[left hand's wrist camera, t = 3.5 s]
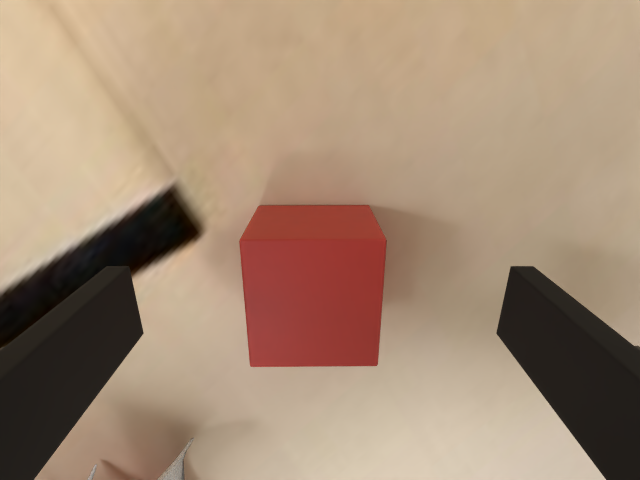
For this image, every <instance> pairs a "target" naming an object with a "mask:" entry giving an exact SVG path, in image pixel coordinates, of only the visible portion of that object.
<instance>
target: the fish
mask: <svg viewBox="0 0 640 480" xmlns="http://www.w3.org/2000/svg"><path fill="white" fill-rule="evenodd" d="M193 440H194V438H192V439H190V441H189V442H188V444H187V445H186V447H185V448H184V449H183V451H182V452H181V453H180V454H179V456H178V457H177V458H176V459H175V460H174V462H173V463H172V464H171V465H170V466H169V467H168V468H167V469H166V471H165V472H164V473H163V474H162V475H161V476H160V477H159V478H158V479H157V480H184V465H183V459H184V456H185V453H186V451H187V449H188V447H189V446H190V444H191V443H192V441H193ZM96 466H97V465H96V464H95V466H94V468H93V470H92V472H91V474H90V476H89V478H88V480H92V479H93V476H94V473H95V470H96Z"/></svg>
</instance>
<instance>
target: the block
mask: <svg viewBox="0 0 640 480" xmlns="http://www.w3.org/2000/svg"><path fill="white" fill-rule="evenodd" d="M239 242H240V254H241V266H242V277H243V289H244V301H245V312H246V324H247V335H248V347H249V359H250V366H251V367H300V366H377V365H378V355H379V341H380V327H381V313H382V298H383V284H384V270H385V256H386V242H387V241H386V238H385V236H384V234H383V232H382V230H381V228H380V226H379V224H378V222H377V220H376V218H375V217H374V215H373V213H372V211H371V209H370V207H369V206H368V205H300V206H258V208H257V210H256V212H255V213H254V215H253V217H252V219H251V221H250V222H249V224H248V226H247V228H246V230H245V231H244V233H243V235H242V237H241V239H240V241H239Z"/></svg>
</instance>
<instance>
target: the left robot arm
mask: <svg viewBox="0 0 640 480" xmlns="http://www.w3.org/2000/svg"><path fill="white" fill-rule="evenodd" d="M142 335H143V329H142V324H141V319H140V315H139V310H138V305H137V301H136V296H135V291H134V287H133V282H132V277H131V273H130V268H129V266H107V267H105V268H104V269H103V270H102V271H100V272H99V273H98V274H97V275H95V276H94V277H93V278H91V279H90V280H89V281H88V282H86V283H85V284H84V285H83V286H81V287H80V288H79V289H78V290H76V291H75V292H74V293H72V294H71V295H70V296H69V297H67V298H66V299H65V300H64V301H62V302H61V303H60V304H59V305H57V306H56V307H55V308H53V309H52V310H51V311H50V312H48V313H47V314H46V315H45V316H43V317H42V318H41V319H40V320H38V321H37V322H36V323H34V324H33V325H32V326H31V327H29V328H28V329H27V330H26V331H24V332H23V333H22V334H20V335H19V336H18V337H17V338H15V339H14V340H13V341H12V342H10V343H9V344H8V345H7V346H5V347H2V348H0V480H34V479H35V477H36V476H37V475H38V473H39V472H40V471H41V469H42V468H43V467H44V465H45V464H46V463H47V461H48V460H49V459H50V457H51V456H52V455H53V453H54V452H55V451H56V449H57V448H58V447H59V445H60V444H61V443H62V441H63V440H64V439H65V437H66V436H67V435H68V433H69V432H70V431H71V429H72V428H73V427H74V425H75V424H76V423H77V421H78V420H79V419H80V417H81V416H82V415H83V413H84V412H85V411H86V409H87V408H88V407H89V405H90V404H91V403H92V401H93V400H94V399H95V397H96V396H97V395H98V393H99V392H100V391H101V389H102V388H103V387H104V385H105V384H106V383H107V381H108V380H109V379H110V377H111V376H112V375H113V373H114V372H115V371H116V369H117V368H118V367H119V365H120V364H121V363H122V361H123V360H124V359H125V357H126V356H127V355H128V353H129V352H130V351H131V349H132V348H133V347H134V345H135V344H136V343H137V341H138V340H139V339H140V337H141V336H142ZM497 335H498V336H499V337H500V339H501V340H502V341H503V343H504V344H505V345H506V347H507V348H508V349H509V351H510V352H511V353H512V355H513V356H514V357H515V359H516V360H517V361H518V363H519V364H520V365H521V367H522V368H523V369H524V371H525V372H526V373H527V375H528V376H529V377H530V379H531V380H532V381H533V383H534V384H535V385H536V387H537V388H538V389H539V391H540V392H541V393H542V395H543V396H544V397H545V399H546V400H547V401H548V403H549V404H550V405H551V407H552V408H553V409H554V411H555V412H556V413H557V415H558V416H559V417H560V419H561V420H562V421H563V423H564V424H565V425H566V427H567V428H568V429H569V431H570V432H571V433H572V435H573V436H574V437H575V439H576V440H577V441H578V443H579V444H580V445H581V447H582V448H583V449H584V451H585V452H586V453H587V455H588V456H589V457H590V459H591V460H592V461H593V463H594V464H595V465H596V467H597V468H598V469H599V471H600V472H601V473H602V475H603V476H604V477H605V479H606V480H640V347H639V346H633V345H632V344H631V343H630V342H628V341H627V340H626V339H625V338H623V337H622V336H621V335H619V334H618V333H617V332H616V331H614V330H613V329H612V328H611V327H609V326H608V325H607V324H606V323H604V322H603V321H602V320H600V319H599V318H598V317H597V316H595V315H594V314H593V313H592V312H590V311H589V310H588V309H587V308H585V307H584V306H583V305H581V304H580V303H579V302H578V301H576V300H575V299H574V298H573V297H571V296H570V295H569V294H568V293H566V292H565V291H564V290H562V289H561V288H560V287H559V286H557V285H556V284H555V283H554V282H552V281H551V280H550V279H549V278H547V277H546V276H545V275H543V274H542V273H541V272H540V271H538V270H537V269H536V268H535V267H533V266H511V268H510V273H509V277H508V282H507V287H506V291H505V296H504V301H503V305H502V310H501V315H500V319H499V324H498V329H497Z"/></svg>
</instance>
